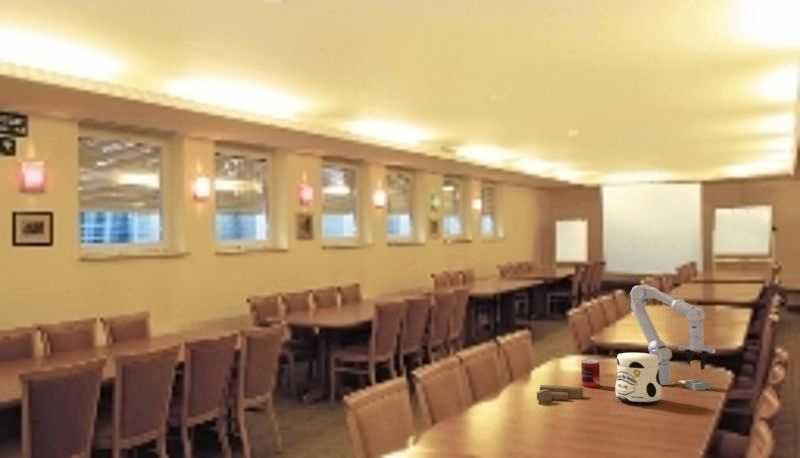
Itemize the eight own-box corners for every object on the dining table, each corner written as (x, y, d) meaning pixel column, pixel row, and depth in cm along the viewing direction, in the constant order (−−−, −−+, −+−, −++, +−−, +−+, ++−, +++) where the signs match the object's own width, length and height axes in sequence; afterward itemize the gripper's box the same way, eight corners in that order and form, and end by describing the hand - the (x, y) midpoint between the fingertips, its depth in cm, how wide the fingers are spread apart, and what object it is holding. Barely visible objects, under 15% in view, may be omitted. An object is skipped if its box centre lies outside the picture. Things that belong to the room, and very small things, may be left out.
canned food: (598, 384, 310) (597, 359, 310) (601, 388, 302) (601, 362, 302) (580, 384, 311) (579, 359, 311) (583, 388, 303) (582, 362, 303)
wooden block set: (538, 382, 292) (583, 383, 287) (538, 395, 292) (583, 397, 287) (535, 390, 275) (582, 392, 271) (535, 405, 275) (583, 407, 271)
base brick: (694, 391, 295) (694, 383, 295) (685, 387, 302) (685, 380, 302) (710, 390, 296) (709, 382, 296) (700, 387, 303) (700, 379, 303)
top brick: (690, 373, 298) (690, 360, 299) (693, 371, 301) (693, 359, 301) (700, 374, 296) (699, 361, 296) (703, 372, 299) (703, 360, 299)
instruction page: (690, 385, 304) (690, 385, 304) (678, 381, 314) (678, 380, 314) (705, 385, 305) (705, 384, 305) (693, 380, 314) (693, 380, 314)
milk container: (611, 404, 273) (610, 357, 273) (620, 395, 288) (619, 351, 289) (658, 408, 265) (657, 360, 265) (664, 398, 280) (663, 353, 281)
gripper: (675, 336, 301) (676, 368, 301) (710, 339, 291) (711, 371, 291) (681, 334, 306) (682, 365, 306) (716, 337, 297) (717, 369, 296)
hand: (697, 368), depth 299 cm, fingers closed on top brick, 4 cm apart
